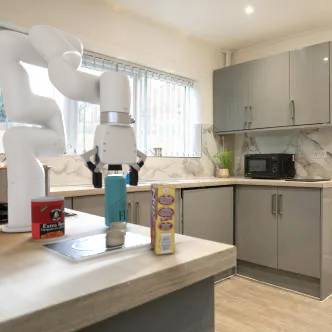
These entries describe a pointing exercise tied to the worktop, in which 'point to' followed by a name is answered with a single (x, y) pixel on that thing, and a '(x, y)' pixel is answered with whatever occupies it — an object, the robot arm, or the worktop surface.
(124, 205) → the beverage bottle
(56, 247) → the chalkboard
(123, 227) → the puck eye
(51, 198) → the canned food
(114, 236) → the puck eye
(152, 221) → the candy box
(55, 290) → the worktop surface
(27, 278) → the worktop surface
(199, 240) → the worktop surface
